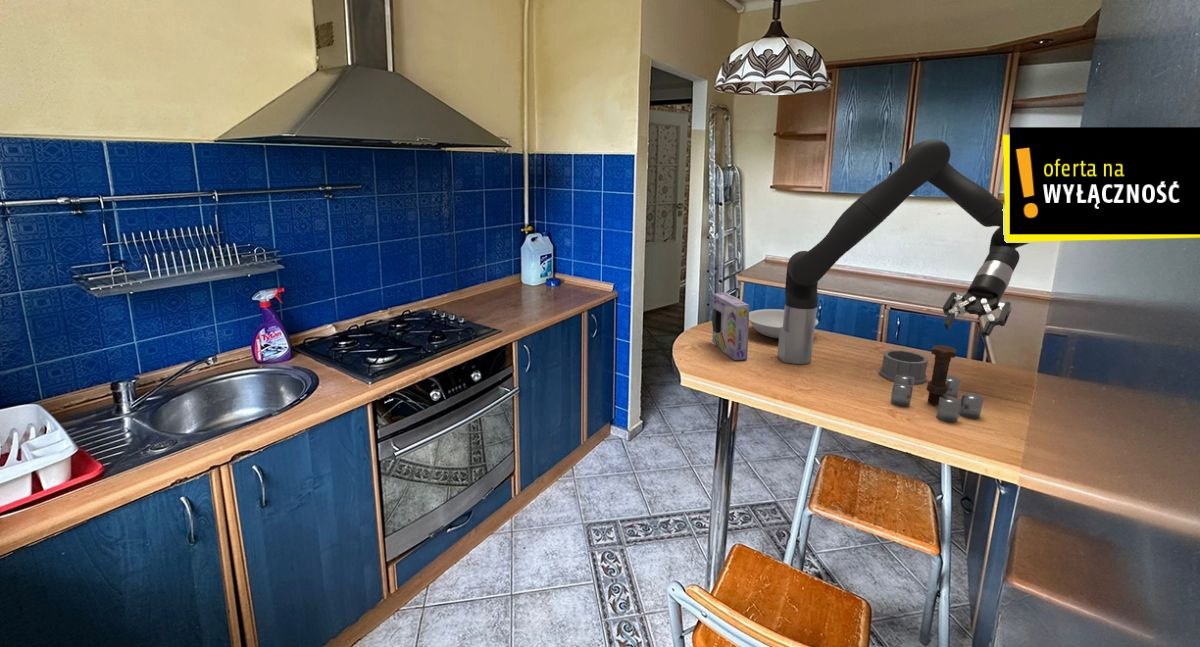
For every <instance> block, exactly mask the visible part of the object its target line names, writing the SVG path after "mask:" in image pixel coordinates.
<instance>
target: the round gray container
mask: <svg viewBox="0 0 1200 647" xmlns="http://www.w3.org/2000/svg"><path fill="white" fill-rule="evenodd" d="M882 358H883V359H882V364H881V367H880V368H879V372H878V373H879V374H878V375H879V376H880V377H882V378H883V379H886V380H888V381H890V380H891V381H892V382H893V383H895V377H896V374H899V373H903V374H909V375H912V376H914V378H915V379H914V385H921V384H925V383H926V382H927V378H928V376H927V367H928V364H929V358H928V357H927V356H925V355H923V354H920V353H917V352H914V351H909V350H901V349H890V350H886V351H884V352H883V357H882Z"/></svg>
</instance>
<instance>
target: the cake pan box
mask: <svg viewBox="0 0 1200 647" xmlns="http://www.w3.org/2000/svg"><path fill="white" fill-rule="evenodd" d="M712 309H713V310H712V315H711V319H712V320H711V324H712V334H711V335H712V340H711V343H712V342H713V343H714V344H715V345H716V346H718V347H719V348H720V349H721V350H720V349H719V348H718V347H717V348H718V349H719V350H720V351H722V352H723V353H724V354H725V355H727V356H728V357H730V358H731V359H732V360H733V361H748V355H749V354H748V350H749V349H748V348H749V326H750V325H749V322H750V321H749V312H750V304H748V303H746V302H744V301H742V300H741V299H740V298H737V297H736V296H733V295H731V294H729V293H728V292H726V291H724V292H717V293H713V300H712ZM714 344H713V345H714ZM715 345H714V346H715ZM716 346H715V347H716Z"/></svg>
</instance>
